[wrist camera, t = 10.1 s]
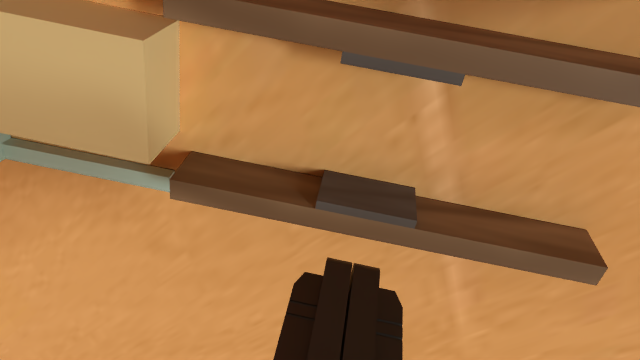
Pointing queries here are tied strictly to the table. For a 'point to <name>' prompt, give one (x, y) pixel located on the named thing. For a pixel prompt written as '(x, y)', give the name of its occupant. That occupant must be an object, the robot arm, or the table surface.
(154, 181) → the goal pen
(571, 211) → the table surface
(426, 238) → the chute
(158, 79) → the block
